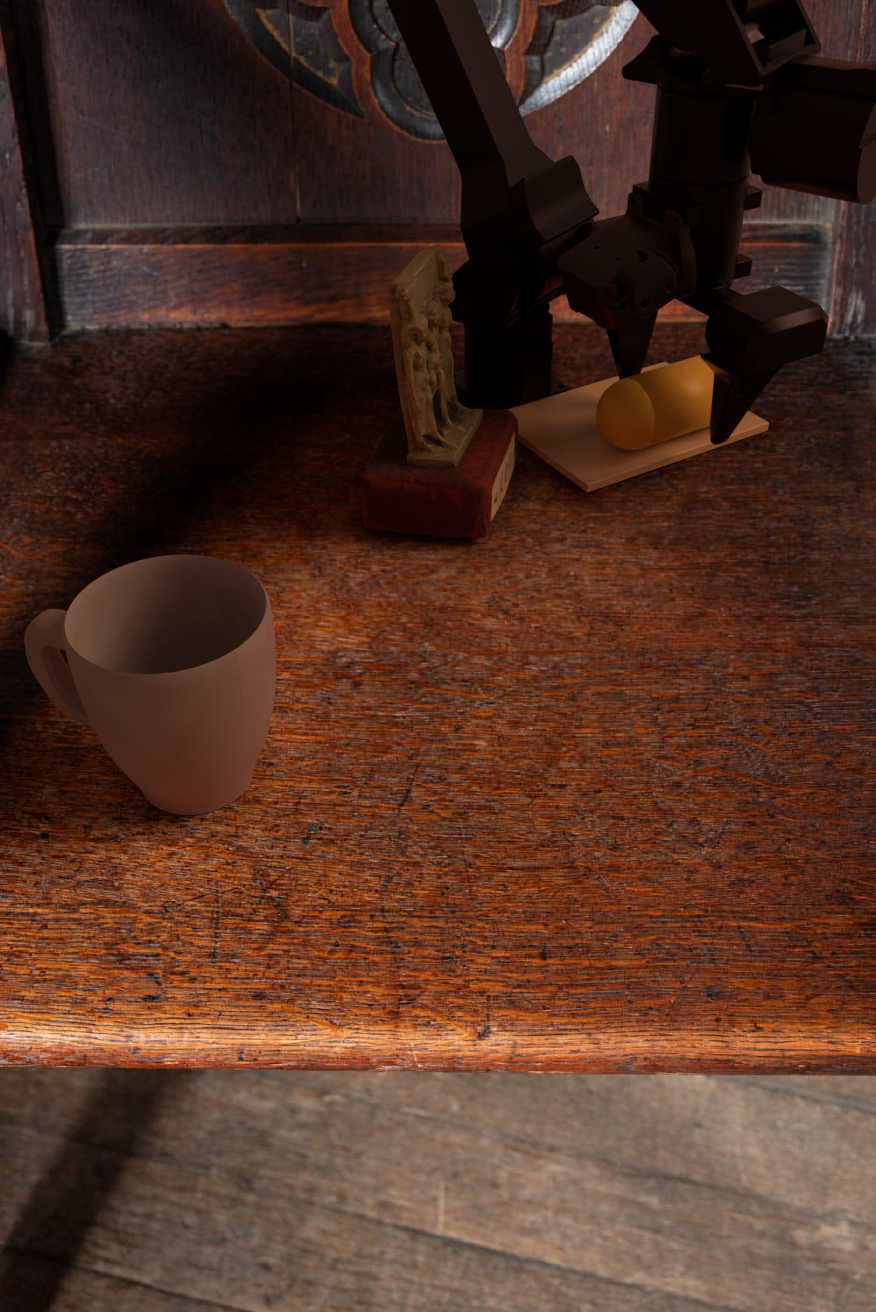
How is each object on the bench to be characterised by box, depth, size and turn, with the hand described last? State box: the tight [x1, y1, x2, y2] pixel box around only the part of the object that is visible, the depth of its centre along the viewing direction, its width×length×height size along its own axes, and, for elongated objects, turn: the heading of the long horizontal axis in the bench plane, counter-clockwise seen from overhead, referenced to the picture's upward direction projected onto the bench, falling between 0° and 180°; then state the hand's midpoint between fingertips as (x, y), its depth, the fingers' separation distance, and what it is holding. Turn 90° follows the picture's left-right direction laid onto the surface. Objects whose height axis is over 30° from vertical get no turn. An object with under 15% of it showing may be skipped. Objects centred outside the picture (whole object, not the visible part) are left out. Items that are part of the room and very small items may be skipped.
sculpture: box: [360, 244, 519, 539], centre depth 73 cm, size 10×8×15 cm
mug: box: [24, 554, 277, 816], centre depth 57 cm, size 12×9×10 cm
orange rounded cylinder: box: [596, 354, 714, 450], centre depth 82 cm, size 14×5×5 cm, turn 121°
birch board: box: [507, 361, 770, 493], centre depth 85 cm, size 11×15×1 cm
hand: (671, 413), depth 82 cm, fingers open, 9 cm apart
